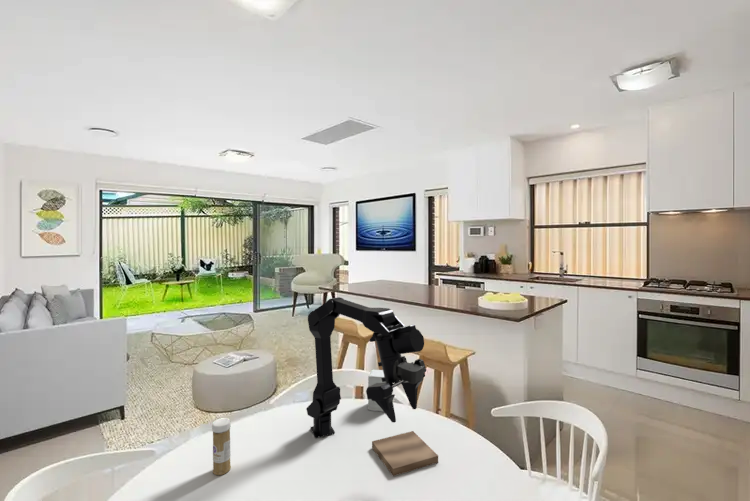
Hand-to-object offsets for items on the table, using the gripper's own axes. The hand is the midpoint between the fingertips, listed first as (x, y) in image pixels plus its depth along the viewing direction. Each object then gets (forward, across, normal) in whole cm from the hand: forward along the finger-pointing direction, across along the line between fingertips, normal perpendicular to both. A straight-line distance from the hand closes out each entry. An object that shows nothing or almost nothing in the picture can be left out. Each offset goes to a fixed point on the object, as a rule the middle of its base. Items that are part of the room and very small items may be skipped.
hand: (404, 415), depth 94 cm
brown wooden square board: (+14, +7, +10) cm, 18 cm away
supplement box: (+6, +25, +33) cm, 42 cm away
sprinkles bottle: (+4, -30, +42) cm, 52 cm away
